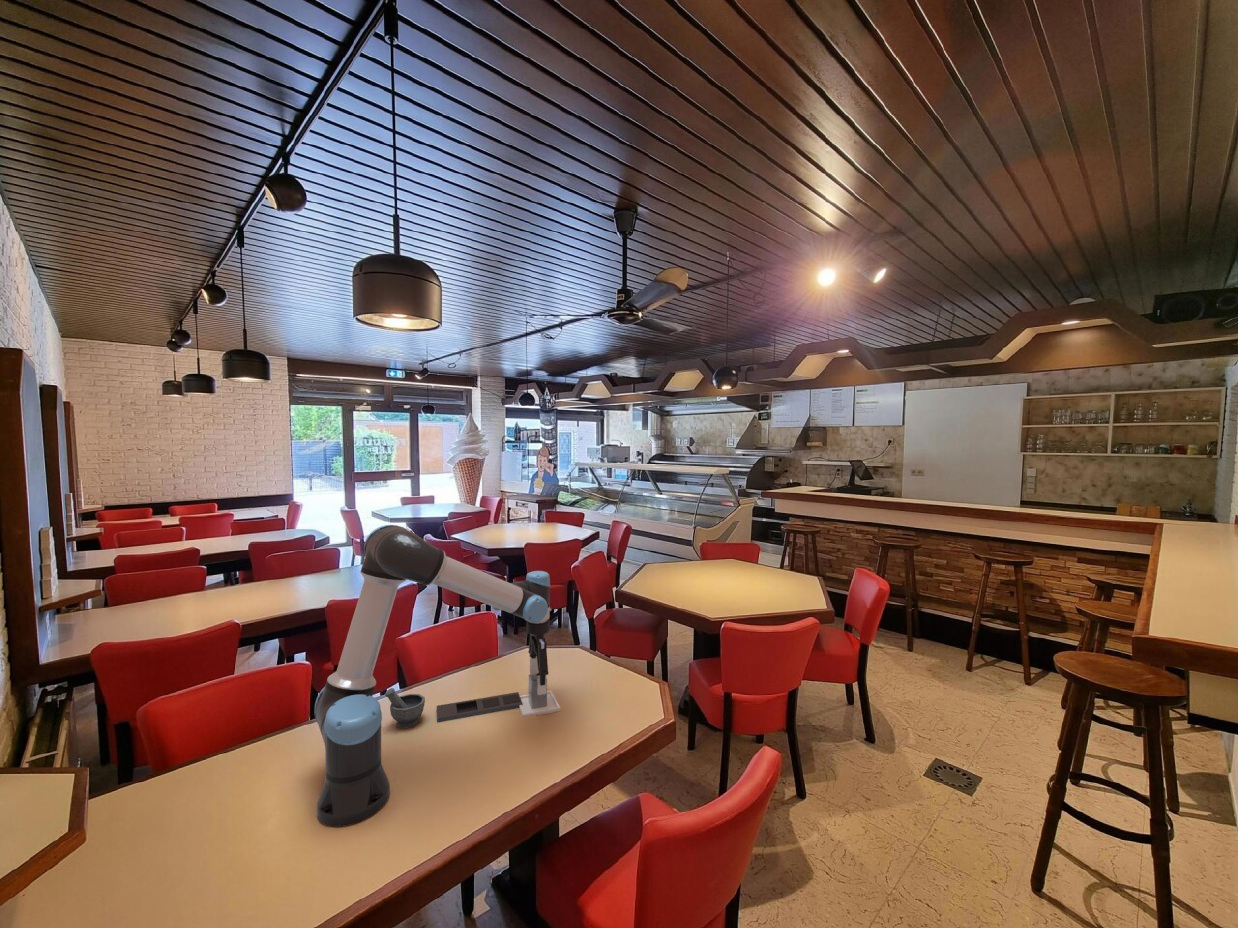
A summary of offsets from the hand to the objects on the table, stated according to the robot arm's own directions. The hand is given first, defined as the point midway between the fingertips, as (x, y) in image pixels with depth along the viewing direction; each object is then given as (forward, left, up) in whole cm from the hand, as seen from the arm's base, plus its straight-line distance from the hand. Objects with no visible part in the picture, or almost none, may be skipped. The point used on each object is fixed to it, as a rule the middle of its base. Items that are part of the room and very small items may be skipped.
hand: (537, 685), depth 162 cm
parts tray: (0, 0, -7) cm, 7 cm away
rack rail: (+4, +18, -7) cm, 20 cm away
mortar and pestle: (+3, +40, -7) cm, 41 cm away
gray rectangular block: (0, 0, -6) cm, 6 cm away
